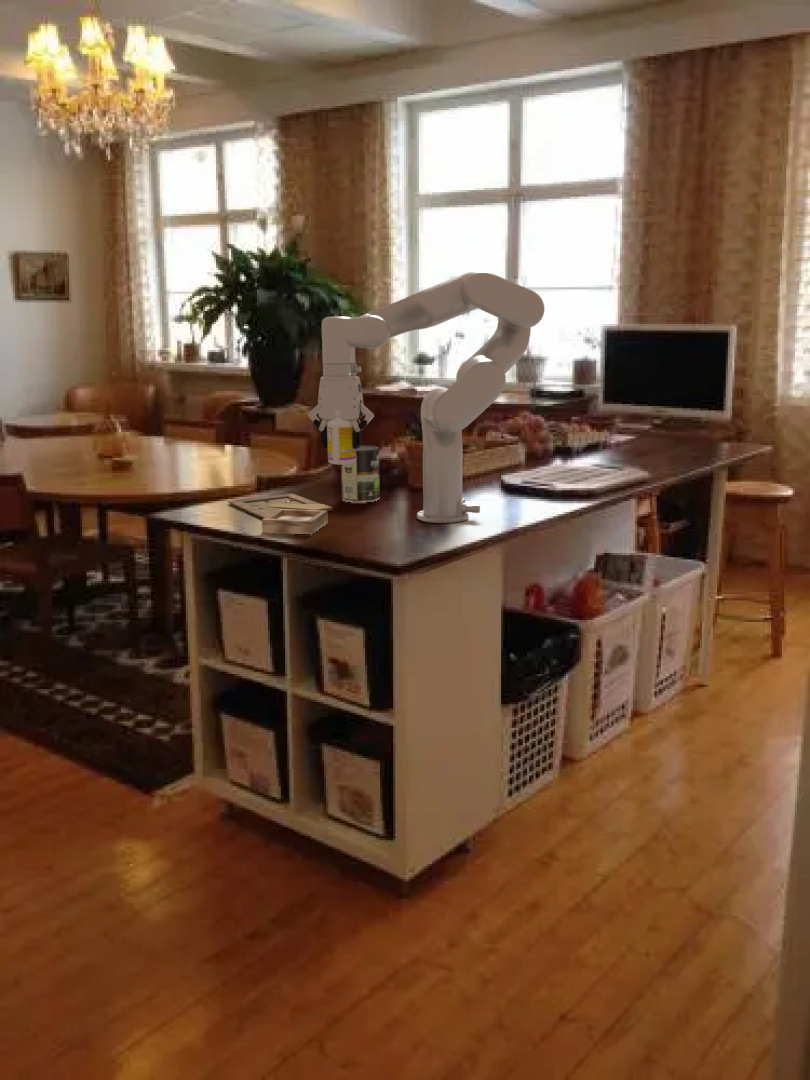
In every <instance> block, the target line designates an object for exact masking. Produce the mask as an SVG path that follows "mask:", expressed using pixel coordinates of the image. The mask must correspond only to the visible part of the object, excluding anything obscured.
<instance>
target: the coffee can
mask: <svg viewBox="0 0 810 1080" xmlns="http://www.w3.org/2000/svg"><path fill="white" fill-rule="evenodd" d="M379 451H380V447H379V446H376V445H366V444H364V445H363V444H361V445H360V447H359V448H357V449H356V461H355V462H354V463H352V464H345V465H341V467H340V468H341V494H342V495H341V500H343V501H342V502H344V501H345V502H344V503H347V502H351V503H350V504H367V503H366V502H372V503H375V502H374V501H376V502H378V501H377V500H379V499H380V500H381V497H380V458H379V457H380V452H379ZM380 500H379V501H380Z"/></svg>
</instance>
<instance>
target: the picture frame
mask: <svg viewBox="0 0 810 1080" xmlns="http://www.w3.org/2000/svg"><path fill="white" fill-rule="evenodd" d="M228 505H229V506H231V507H234V508H236V509H238V510H240V511H241V512H245V513H247V514H248V513H249V514H251V515H254V516H256V517H258V518H260V517H261V518H260V519H262V518H263V519H264V518H265V517H267V516H269V515H271V514H272V513H274V512H276V511H277V510H279V509H298V510H323V511H330V512H331V511H333V507H332V506H329V505H327V504H323V503H319V502H316V501H314V500H311V499H308V498H305V497H302V496H300V495H297V494H295V493H286V494H277V495H269V496H260V497H253V498H245V499H236V500H235V499H234V500H228Z"/></svg>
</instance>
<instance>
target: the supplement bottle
mask: <svg viewBox="0 0 810 1080" xmlns="http://www.w3.org/2000/svg"><path fill="white" fill-rule="evenodd" d="M340 414H341V413H340V412H339V411H336V412H335V416H340ZM353 432H354V427H353V425H352V423H351V421H348V420H343V419H341V418H340V417H336V418H335V419H333V420H328V422H327V446H328V447H327V460H328V463H329V464H330V465H339V466H340V465H345V464H352V463H354V462H355V461H356V449H354V448H353Z"/></svg>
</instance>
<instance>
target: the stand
mask: <svg viewBox="0 0 810 1080" xmlns="http://www.w3.org/2000/svg"><path fill="white" fill-rule="evenodd" d="M328 513H329V512H327V511H323V510H298V509H279V510H277V511H276V512H274V513H272V514H271V515H269V516H267V517H265V518H264V519H262V518H261V524H262V525H261V526H262V528H261V529H262V531H261V532H262V534H273V533H275V534H276V535H278V534H279V535H294V534H310V535H309V536H313V535H314V534H316V533H317V532H319V531H320V530H321V529H322V527H323V526H324V527H325V526H326V524H327V525H328V524H329V522H328V520H329V518H328V517H329V516H328V515H329V514H328ZM324 527H323V528H324ZM320 528H321V529H320ZM319 529H320V530H319ZM316 531H317V532H316ZM315 532H316V533H315ZM313 533H314V534H313ZM275 534H274V535H275ZM312 534H313V535H312Z"/></svg>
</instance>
